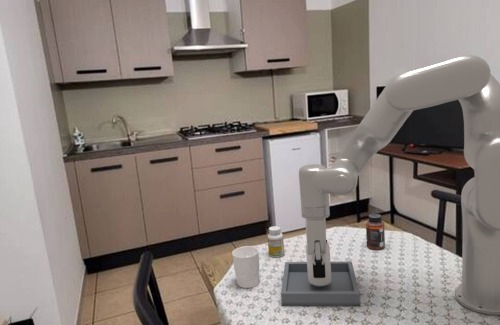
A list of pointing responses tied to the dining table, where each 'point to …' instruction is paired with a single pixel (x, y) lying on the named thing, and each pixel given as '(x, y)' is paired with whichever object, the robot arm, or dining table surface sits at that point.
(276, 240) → the supplement bottle
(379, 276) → the dining table surface
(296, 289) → the tray
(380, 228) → the supplement bottle
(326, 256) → the can
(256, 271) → the white cup
